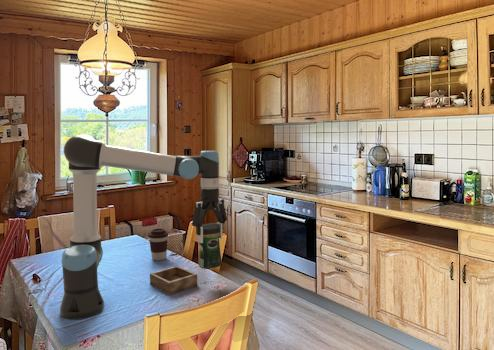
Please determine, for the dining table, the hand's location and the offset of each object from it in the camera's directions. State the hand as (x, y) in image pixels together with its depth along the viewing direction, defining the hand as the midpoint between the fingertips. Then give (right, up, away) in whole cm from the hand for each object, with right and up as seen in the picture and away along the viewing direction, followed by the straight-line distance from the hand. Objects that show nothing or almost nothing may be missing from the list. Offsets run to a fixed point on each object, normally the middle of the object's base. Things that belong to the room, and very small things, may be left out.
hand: (210, 240), depth 175 cm
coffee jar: (0, -12, +2) cm, 12 cm away
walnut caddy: (-16, -20, +2) cm, 25 cm away
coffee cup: (-30, -16, +38) cm, 51 cm away
